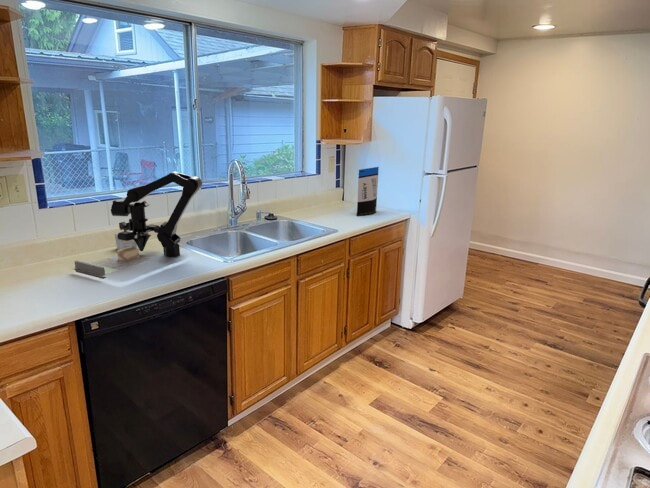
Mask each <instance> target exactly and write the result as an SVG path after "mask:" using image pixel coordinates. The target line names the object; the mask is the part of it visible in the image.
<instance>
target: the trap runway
mask: <svg viewBox="0 0 650 488" xmlns="http://www.w3.org/2000/svg"><path fill="white" fill-rule="evenodd" d="M151 259H152V257H147V256H143V255H142V256H141V255H139V258H138V259H135V260H132V261H129V262H127V261H123V260H118V255H117V254H116V255H113V256H109V257H107V258H105V259H104V258H103V259H101V260H97V261H95V262H91V263H88V262H84V261H80V260H74V262H73V263H74V267H75V273H79V274H82V275H86V276H87V275H88V276H91V277H94V278H98V279H101V280H105V279H106V276H105V275H108V274H110V273H114V272H116V271H119V270H123V269H125V268H129V267H131V266H134V265H136V264H140V263H144V262H145V261H149V260H151ZM106 260H109V261H106ZM102 261H106V262H103V263H99V262H102ZM96 263H99V264H96ZM122 265H127V266H124V267H121V266H122ZM117 267H121V268H118V269H117Z"/></svg>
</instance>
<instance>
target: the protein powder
mask: <svg viewBox="0 0 650 488" xmlns="http://www.w3.org/2000/svg"><path fill="white" fill-rule="evenodd" d="M379 168H380V167H379V166H376V167H367V168H363V169H362V168H361V169H358V180H357V181H358V182H357V206H356V217H364V216H365V217H366V216H372V215H375V214H376V213H377V201H378V200H377V199H378V187H379V186H378V184H379V183H378V182H379Z"/></svg>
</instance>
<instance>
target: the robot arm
mask: <svg viewBox="0 0 650 488" xmlns="http://www.w3.org/2000/svg"><path fill="white" fill-rule="evenodd" d="M173 183H174V184H176V185H178V186H179V187H182V191H181V193H182V194H181V196H180V198H179V200H177V201H178V202H177V203H176V206H175V207H174V209H173V211H172V213H171V215H170V217H169V219H168V220H167V221H164V222H163V223H161V224H160V225H159V224H147V222H148V220H149V219H148V218H146V211H145V209H146V208H148V207H149V206H150V204H149V203H148V202H147V201H146V200H143V199H145V198H147V197H148V196H149V195H150V194H151V193H153V192H155V191H157V190H159V189H161V188H164V187H165V186H168V185H169V184H173ZM202 186H203V181H202V179H201V178H200V177H198V176H196V175H195V176H191V175H189V174H184V173H180V172H178V171H172V172H170V173H168V174H167V175H164V176H162V177H160V178H158V179H156V180H154V181H151V182H149V183H147V184H143V185H139V186H135V187H133V188H130V189H128V190H127V192H126V196H125V198H124V200H117V199H114V200H113V201H112V204H111V208H110V213H111V215H112V216H113V217H129V215H130V218H129V219H128V222H125V221H121V222H119V223H118V228H119V230H120V231H121V232H118V233H117V234H118V235H117V236H118V239H120V240H124V241H129V240H134V241H135V242H136V244H137V249H139V251H140V252H144V249H145V247H146V246H147V242H148V240H149V238H150V237H151V236H152V234H149V233H150V232H154V233H156V238H157V240H158V242H159V243H160V244H161V246H162V248H163V249H162V250H163V256H165V257H167V258H176V257H179V256H181V250H180V249H181V248H180V244H179V243H180V241H181V237H180V236H179V235H178V234H176V233H177V229H178V224H179V223H180V220H181V218H182V216H183V215H184V213H185V212H186V209H187V207H188V205H189V203H190V202H191V200H192V198H193V197H194V196H195V195H196V194H197V193H198V191H200V189H201V188H202ZM142 200H143V201H142ZM122 230H123V231H122ZM128 231H133V232H128Z"/></svg>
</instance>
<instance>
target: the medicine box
mask: <svg viewBox="0 0 650 488" xmlns="http://www.w3.org/2000/svg"><path fill="white" fill-rule="evenodd" d="M127 231H128V232H133V231H129V230H127ZM117 235H118V233H114V238H115V245H116V246H115V247H116V249H117V250H120V249H124V248H127V247H131V248H138V246H137V244H136V242H135V241H134V240H129V241H124V240H120V239H118V236H117Z"/></svg>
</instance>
